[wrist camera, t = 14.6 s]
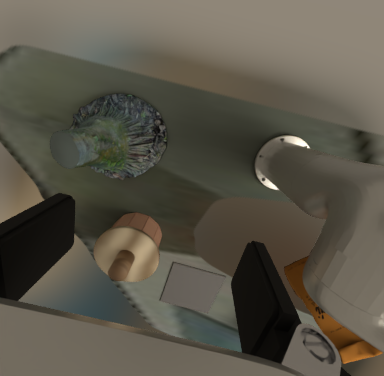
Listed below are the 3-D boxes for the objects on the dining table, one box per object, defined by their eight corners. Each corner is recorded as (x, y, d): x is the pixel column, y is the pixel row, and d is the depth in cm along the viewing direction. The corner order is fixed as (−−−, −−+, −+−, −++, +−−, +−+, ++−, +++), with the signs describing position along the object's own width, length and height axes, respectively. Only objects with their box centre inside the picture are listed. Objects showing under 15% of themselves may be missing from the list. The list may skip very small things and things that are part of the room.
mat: (225, 276, 57) (225, 277, 56) (207, 312, 62) (207, 313, 62) (173, 262, 56) (173, 263, 55) (160, 299, 61) (160, 301, 61)
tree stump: (172, 175, 47) (132, 211, 31) (104, 170, 52) (40, 200, 37) (165, 92, 40) (109, 85, 24) (87, 96, 45) (-2, 93, 29)
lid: (166, 236, 43) (161, 255, 37) (151, 284, 48) (144, 307, 43) (101, 218, 42) (85, 234, 36) (92, 268, 47) (77, 290, 41)
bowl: (166, 221, 51) (160, 239, 43) (155, 258, 55) (148, 280, 48) (118, 207, 50) (104, 223, 42) (110, 246, 54) (96, 266, 47)
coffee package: (278, 262, 54) (326, 351, 34) (321, 244, 52) (402, 328, 31) (290, 285, 57) (342, 380, 37) (332, 269, 55) (413, 362, 34)
